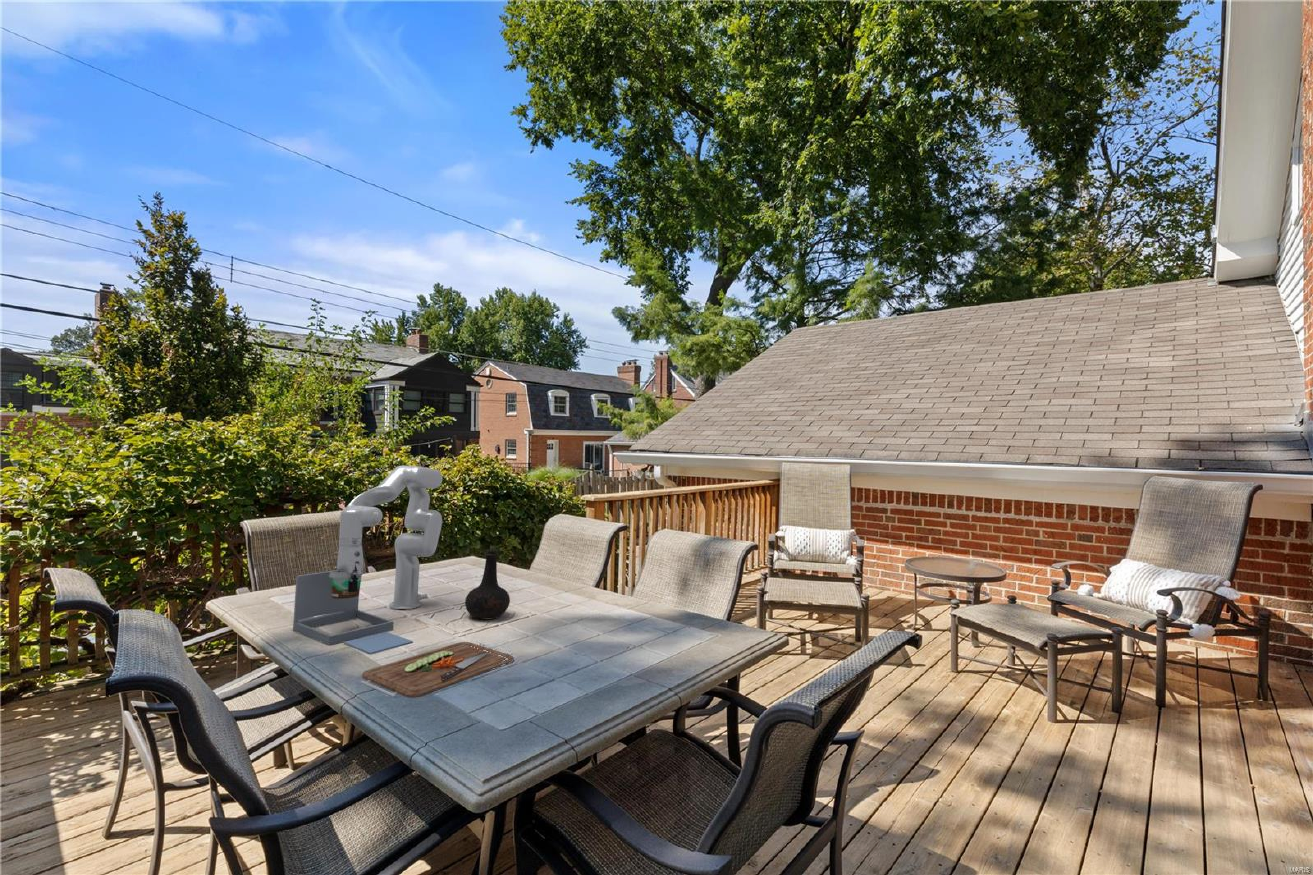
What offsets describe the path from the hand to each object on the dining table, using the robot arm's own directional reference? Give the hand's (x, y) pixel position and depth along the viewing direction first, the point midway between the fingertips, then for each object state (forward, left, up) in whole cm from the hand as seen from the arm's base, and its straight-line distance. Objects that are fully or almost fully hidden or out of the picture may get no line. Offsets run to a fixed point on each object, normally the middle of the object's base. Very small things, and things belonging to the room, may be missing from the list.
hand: (348, 589), depth 219 cm
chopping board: (+1, +57, -16) cm, 59 cm away
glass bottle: (-46, +24, -15) cm, 55 cm away
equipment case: (+1, 0, -15) cm, 15 cm away
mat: (+1, +22, -15) cm, 27 cm away
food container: (0, +1, -3) cm, 3 cm away
